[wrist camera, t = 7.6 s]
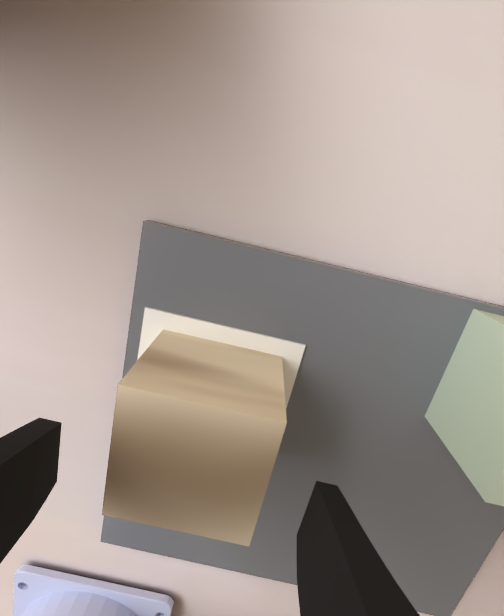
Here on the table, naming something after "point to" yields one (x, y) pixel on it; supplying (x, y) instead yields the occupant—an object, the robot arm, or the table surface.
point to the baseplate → (326, 406)
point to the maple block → (196, 437)
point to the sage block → (475, 405)
